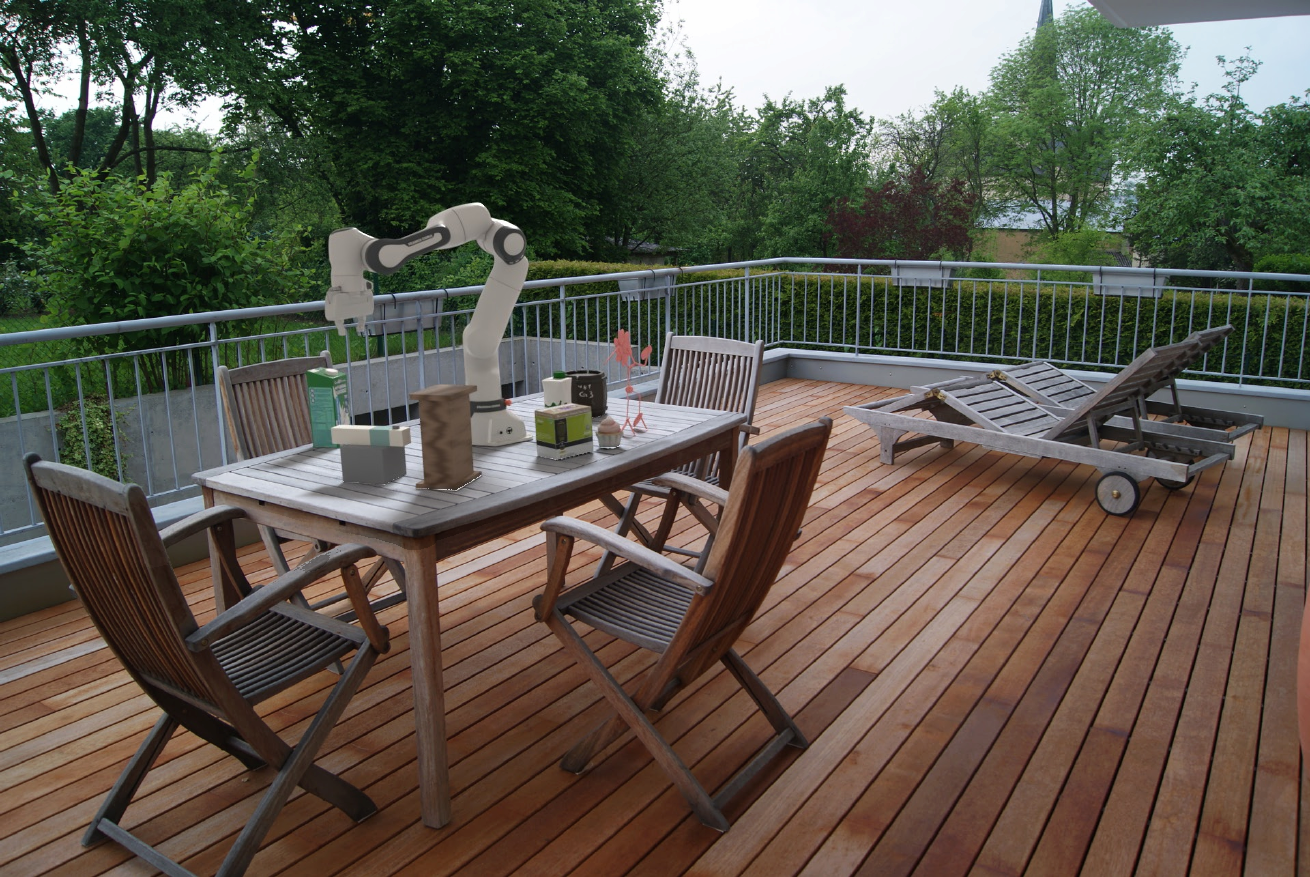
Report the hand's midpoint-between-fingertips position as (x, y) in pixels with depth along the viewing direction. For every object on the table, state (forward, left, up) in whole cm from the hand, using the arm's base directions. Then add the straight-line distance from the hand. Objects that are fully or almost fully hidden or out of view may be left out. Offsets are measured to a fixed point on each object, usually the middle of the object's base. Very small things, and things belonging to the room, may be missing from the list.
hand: (351, 333), depth 276 cm
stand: (-15, +35, -39) cm, 55 cm away
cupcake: (-72, +22, -39) cm, 85 cm away
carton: (+1, +19, -29) cm, 35 cm away
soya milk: (-69, -10, -39) cm, 80 cm away
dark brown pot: (-89, -31, -39) cm, 102 cm away
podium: (+1, +19, -39) cm, 43 cm away
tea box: (-56, +23, -39) cm, 72 cm away
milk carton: (+2, -32, -39) cm, 51 cm away
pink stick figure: (-87, +4, -39) cm, 96 cm away
